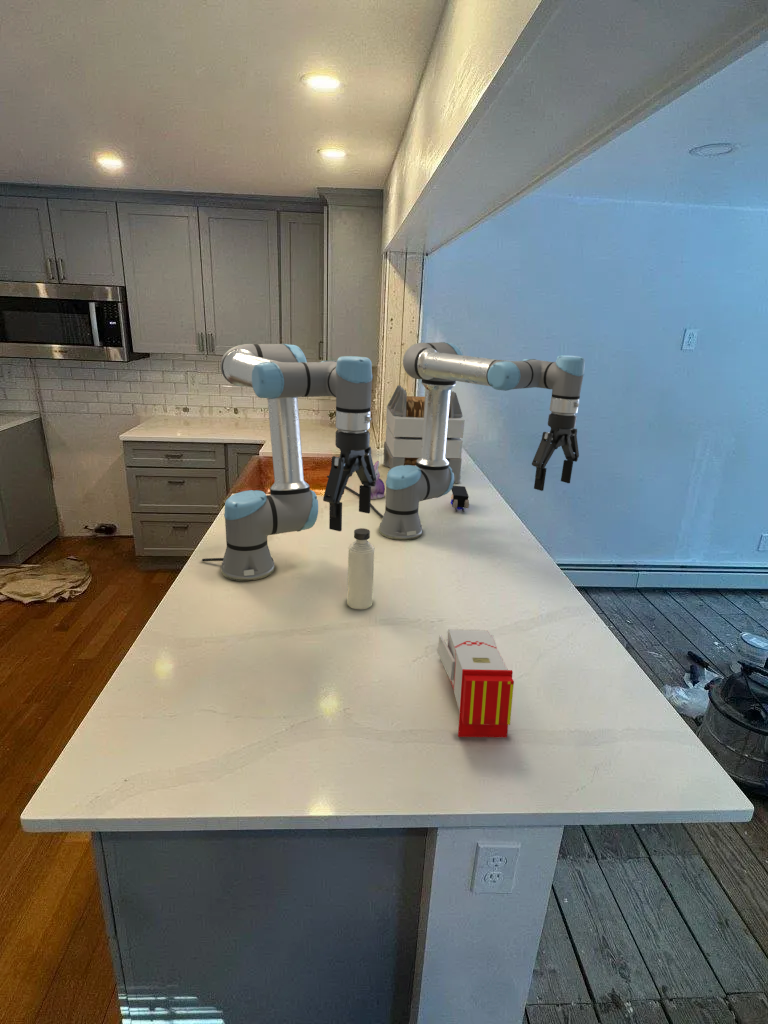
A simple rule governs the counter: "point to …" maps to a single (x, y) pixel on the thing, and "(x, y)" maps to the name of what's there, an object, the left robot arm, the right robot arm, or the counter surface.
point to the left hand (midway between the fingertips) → (350, 520)
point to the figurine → (377, 485)
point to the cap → (361, 534)
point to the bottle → (360, 574)
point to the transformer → (419, 431)
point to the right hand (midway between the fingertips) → (552, 485)
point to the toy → (478, 682)
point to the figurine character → (459, 498)
